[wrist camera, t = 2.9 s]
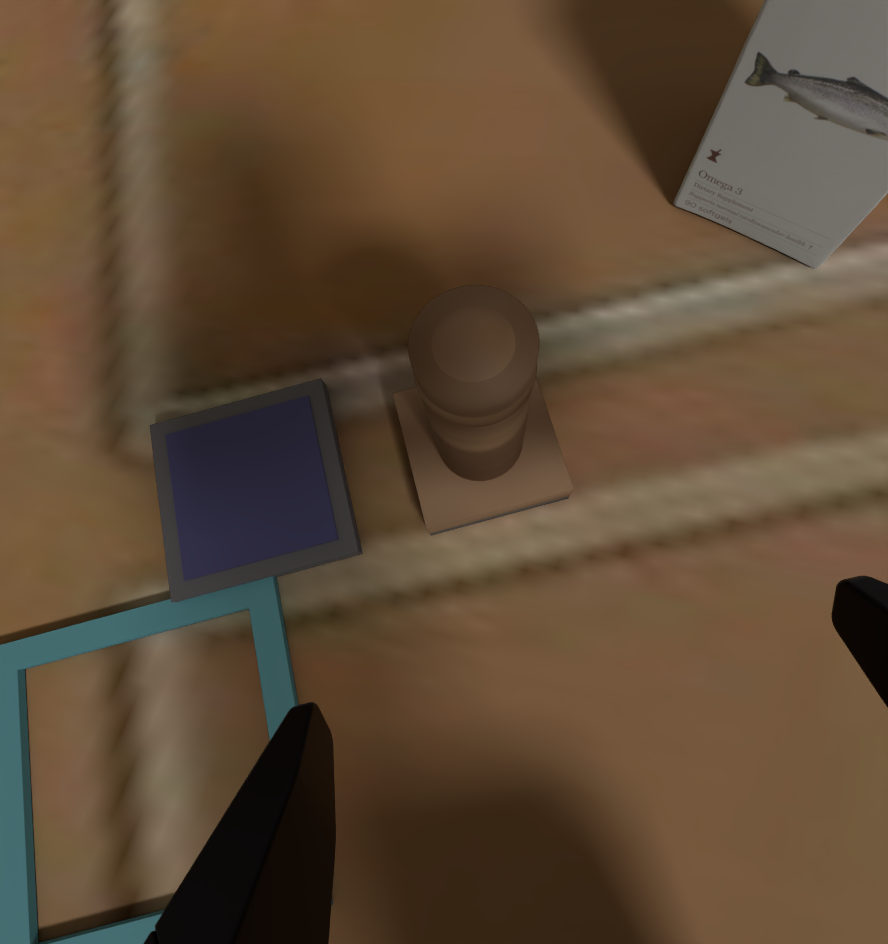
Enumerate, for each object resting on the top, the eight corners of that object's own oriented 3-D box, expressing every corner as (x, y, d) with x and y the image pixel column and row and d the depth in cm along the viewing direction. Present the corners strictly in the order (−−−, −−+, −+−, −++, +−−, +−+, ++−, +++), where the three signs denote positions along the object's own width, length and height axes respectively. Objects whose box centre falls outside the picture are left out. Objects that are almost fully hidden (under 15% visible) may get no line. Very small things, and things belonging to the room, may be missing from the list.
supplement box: (666, 208, 27) (809, -129, 15) (738, 99, 28) (923, -293, 16) (815, 277, 26) (1109, -36, 13) (884, 159, 27) (1210, -226, 15)
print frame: (332, 903, 21) (329, 908, 20) (9, 988, 21) (0, 995, 20) (275, 572, 24) (272, 571, 24) (-4, 647, 24) (-12, 648, 24)
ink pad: (362, 553, 24) (357, 551, 23) (181, 602, 24) (169, 601, 23) (326, 385, 26) (320, 377, 25) (159, 431, 26) (148, 424, 25)
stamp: (567, 498, 24) (622, 409, 14) (431, 535, 24) (386, 473, 14) (527, 373, 26) (549, 211, 16) (398, 408, 26) (338, 270, 16)
